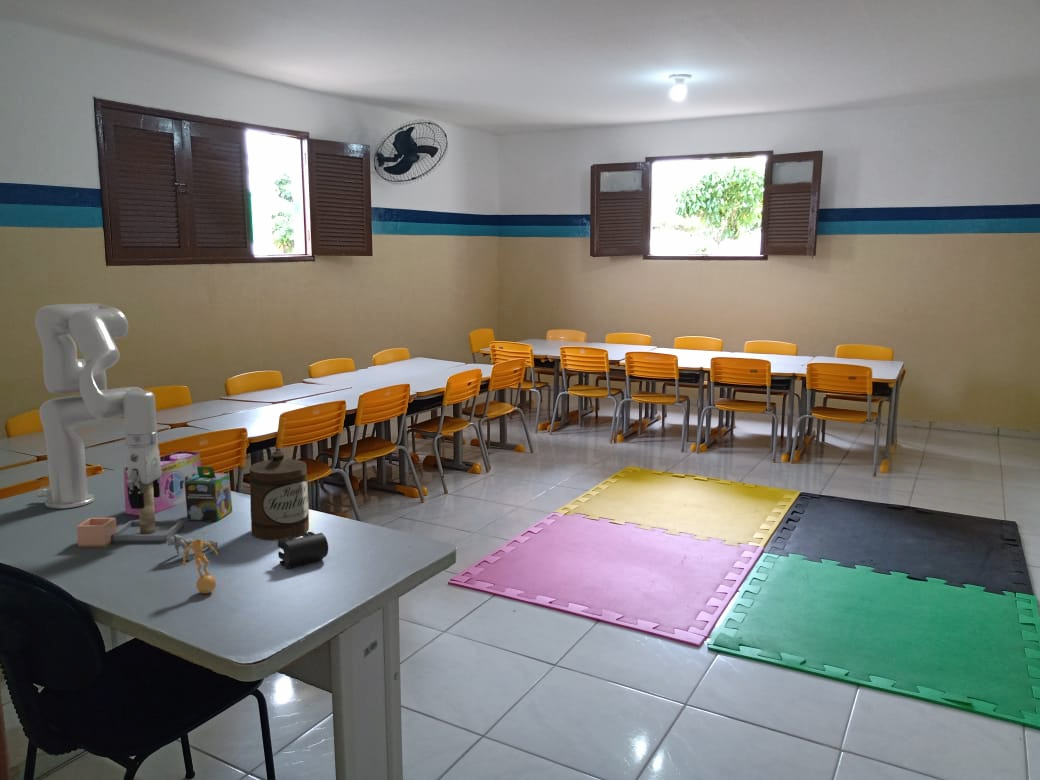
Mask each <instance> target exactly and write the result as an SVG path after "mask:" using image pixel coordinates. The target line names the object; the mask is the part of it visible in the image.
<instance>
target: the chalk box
mask: <svg viewBox="0 0 1040 780" xmlns="http://www.w3.org/2000/svg"><path fill="white" fill-rule="evenodd" d="M197 470H198V475H196V476H193V477H191V478H190V479H189V480H187V481H185V494H186V502H185V504H186V515H187V516H186V517H187V520H188V521H203V522H218V521H220V520H221V519H223V518H225V516H227V515H228V514H230V513H231V512H233V505H232V504H233V503H232V491H231V478H230V473H229V472H226V473H225V472H215V469H214V467H213V466H202V465H201V466H198V467H197ZM205 470H206V471H208V472H203V471H205Z"/></svg>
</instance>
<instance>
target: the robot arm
mask: <svg viewBox="0 0 1040 780" xmlns="http://www.w3.org/2000/svg"><path fill="white" fill-rule="evenodd" d="M34 324H35V329H36V332H37V335H38V338H39V341H40V343H41V346H42V347H41V348H42V365H43V380H44V386H45V389H46V390H47V391H48V392H49V393H52V394H56V395H57V394H58V395H59V394H61V395H62V394H70V393H72V394H73V393H80V394H79V395H71V396H69V395H68V396H64V397H63V396H62V397H55V398H51V399H48V400H47V401H44V402H43V403H42V404H41V405H40V408H39V418H40V422H41V425H42V429H43V433H44V439H45V445H46V455H47V457H46V458H47V467H48V478H49V488H39V489H38V490H37V497H39V498H44V497H46V500H45V501H44V504H45V506H46V508H49V509H72V508H77V507H81V506H85V505H88V504H90V503H92V502H94V500H95V495H94V494H92V493H90V492H88V490H89V489H88V477H87V467H86V465H87V464H86V455H85V454H86V453H85V445H84V444H85V443H84V441H83V439H82V438H81V437H80V436H79V435H78V434H77V433H75V431H74V430H77V429H80V428H86V427H92V426H98V425H101V424H103V423H104V422H105V421H106V420H109V419H115V418H121V417H123V422H124V425H123V427H124V437H125V446H126V447H127V461H126V462H127V463H126V464H127V466H126V467H128V480H127V484H128V489H129V494H130V501H131V508H132V509H143V508H144V507H145V505H144V493H142V490H143V486H144V483H145V484H150V483H151V482H153V493H154V497H159V496H160V488H159V480H160V479H159V477H160V476H161V474H162V471H161V461H160V457H161V453H160V448H159V440H158V423H157V407H156V406H157V405H156V397H155V394H154V392H152V391H149V390H144V389H143V388H141V387H139V386H128V387H119V388H109V389H107V388H108V386H107V385H108V384H107V382H108V381H107V373H106V370H108V369H110V368H111V367H113V366H114V365H116V363H117V362H119V360H120V357H121V353H120V351H119V348H118V346H117V344H116V342H115V340H114V339H123V338H125V337H126V335H128V333H129V322H128V318H127V317H126V315H125V314H124V313H123V311H121V310H120V309H119V308H117V307H113V306H110V305H107V304H102V303H95V302H94V303H93V302H92V303H91V302H90V303H59V304H57V303H56V304H50V305H49V304H48V305H45V306H41V307H40V308H39V309H38V310H37V312H36V313H35V316H34ZM71 335H72V336H73V337H72V336H71ZM77 347H78V348H77ZM78 349H79V351H80V354H81V356H82V358H78ZM138 481H141V482H138ZM136 485H139V488H138V487H137V486H136Z"/></svg>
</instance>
